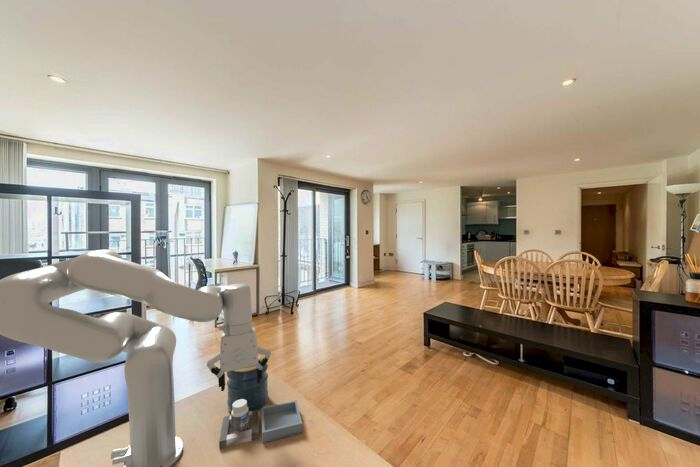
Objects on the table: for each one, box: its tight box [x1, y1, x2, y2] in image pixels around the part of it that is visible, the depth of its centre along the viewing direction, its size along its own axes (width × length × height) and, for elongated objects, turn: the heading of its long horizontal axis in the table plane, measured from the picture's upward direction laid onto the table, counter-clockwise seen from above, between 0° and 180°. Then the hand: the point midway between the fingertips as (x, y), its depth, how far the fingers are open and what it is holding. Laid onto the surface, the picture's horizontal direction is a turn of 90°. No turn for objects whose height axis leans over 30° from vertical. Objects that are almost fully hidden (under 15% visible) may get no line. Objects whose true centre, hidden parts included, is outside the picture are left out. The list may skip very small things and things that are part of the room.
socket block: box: [218, 410, 259, 449], centre depth 80 cm, size 10×10×2 cm
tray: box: [260, 399, 303, 444], centre depth 83 cm, size 11×11×3 cm
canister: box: [226, 353, 269, 413], centre depth 92 cm, size 13×13×18 cm
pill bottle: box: [230, 399, 250, 434], centre depth 80 cm, size 5×5×8 cm
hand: (241, 384), depth 80 cm, fingers open, 9 cm apart
